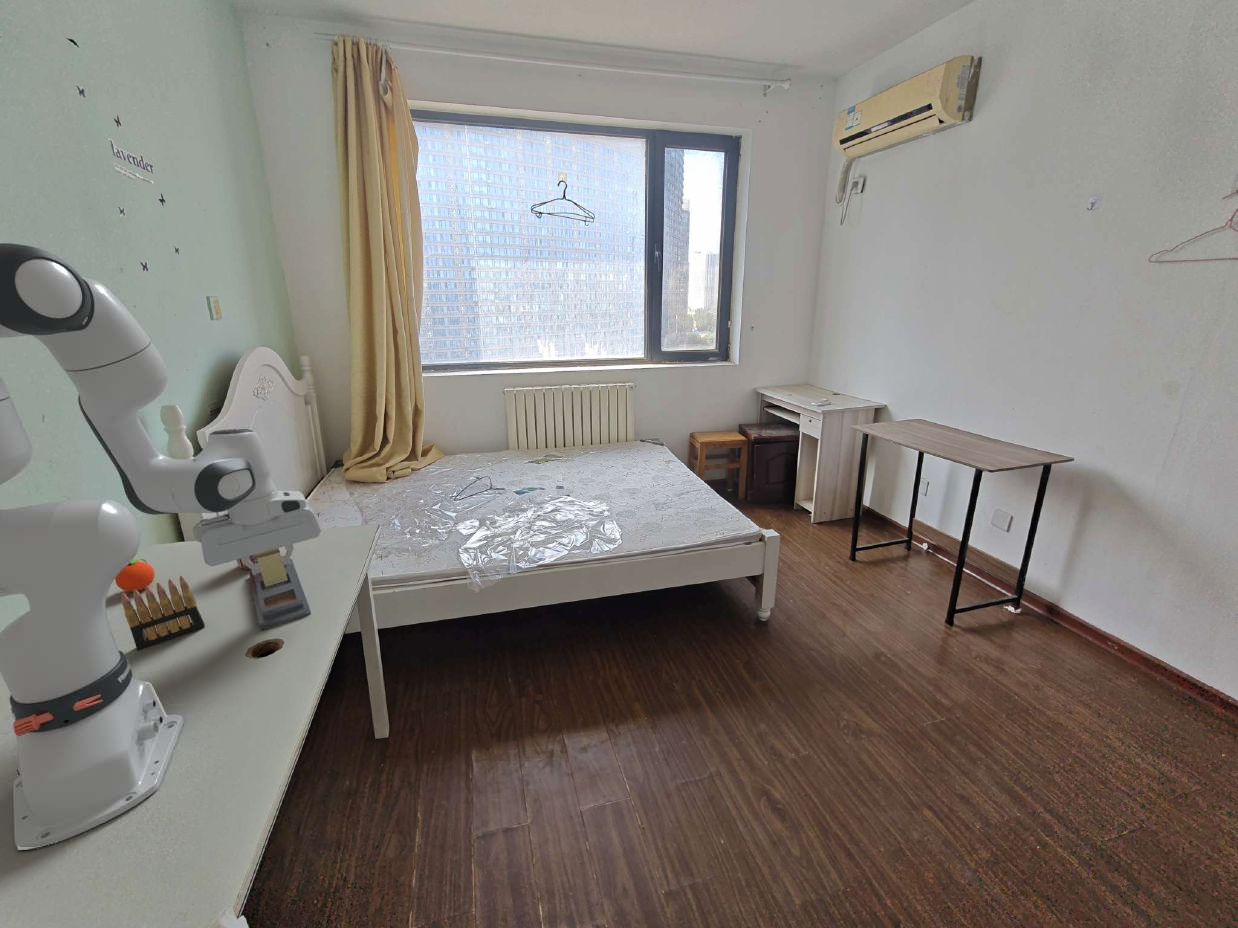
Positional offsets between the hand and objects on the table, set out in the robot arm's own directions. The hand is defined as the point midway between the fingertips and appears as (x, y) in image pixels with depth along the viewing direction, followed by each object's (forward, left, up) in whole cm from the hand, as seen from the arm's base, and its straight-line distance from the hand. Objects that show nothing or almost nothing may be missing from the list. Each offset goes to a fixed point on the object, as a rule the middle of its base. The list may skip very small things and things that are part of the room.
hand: (272, 568), depth 113 cm
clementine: (+35, +26, -10) cm, 45 cm away
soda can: (+30, +3, -10) cm, 32 cm away
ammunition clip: (+5, +19, -10) cm, 22 cm away
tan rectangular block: (0, 0, -3) cm, 3 cm away
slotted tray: (+9, 0, -10) cm, 13 cm away
